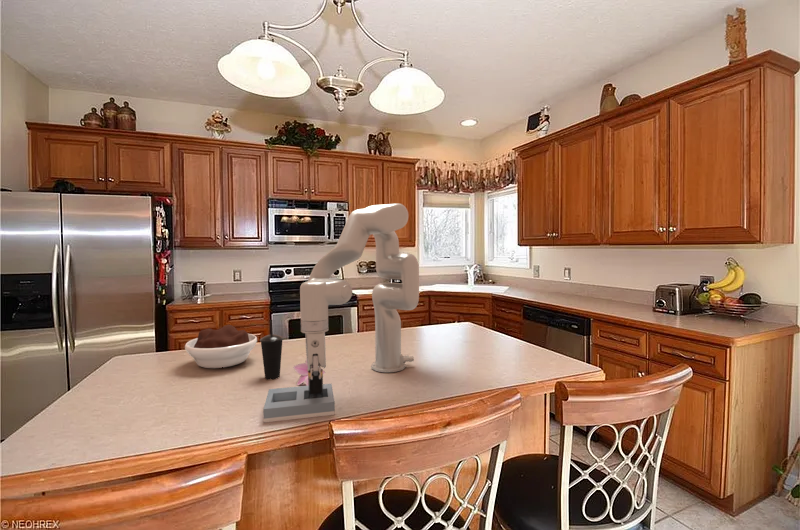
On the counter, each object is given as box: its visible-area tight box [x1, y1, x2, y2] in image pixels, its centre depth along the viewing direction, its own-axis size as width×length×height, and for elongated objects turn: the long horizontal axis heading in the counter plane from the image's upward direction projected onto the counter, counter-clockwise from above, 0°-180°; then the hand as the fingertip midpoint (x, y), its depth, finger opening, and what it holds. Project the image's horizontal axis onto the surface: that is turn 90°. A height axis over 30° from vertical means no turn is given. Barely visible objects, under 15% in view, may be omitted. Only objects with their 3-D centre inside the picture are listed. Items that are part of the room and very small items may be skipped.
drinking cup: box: [259, 319, 284, 380], centre depth 129 cm, size 8×8×20 cm
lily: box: [292, 357, 326, 386], centre depth 123 cm, size 12×12×10 cm
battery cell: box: [308, 368, 324, 399], centre depth 106 cm, size 4×4×10 cm
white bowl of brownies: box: [184, 324, 258, 369], centre depth 144 cm, size 25×25×15 cm
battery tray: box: [262, 383, 336, 423], centre depth 105 cm, size 18×14×4 cm
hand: (315, 387), depth 106 cm, fingers open, 6 cm apart
